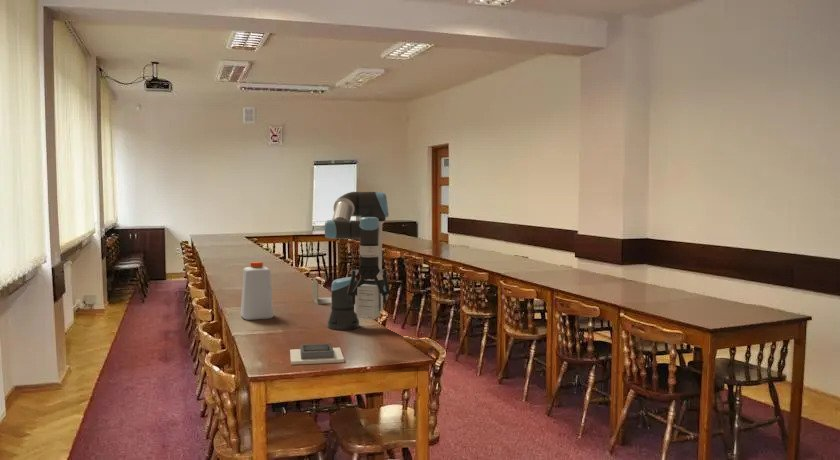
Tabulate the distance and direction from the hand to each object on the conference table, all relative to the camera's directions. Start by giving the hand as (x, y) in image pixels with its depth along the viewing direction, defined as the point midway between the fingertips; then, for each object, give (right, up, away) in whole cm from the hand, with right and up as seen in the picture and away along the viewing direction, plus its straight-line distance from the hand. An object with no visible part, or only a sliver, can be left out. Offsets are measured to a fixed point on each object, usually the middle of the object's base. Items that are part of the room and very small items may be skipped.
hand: (368, 311), depth 259 cm
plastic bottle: (-62, -12, +71) cm, 95 cm away
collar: (-20, -16, -3) cm, 26 cm away
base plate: (-20, -18, -3) cm, 27 cm away
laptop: (-34, -9, +118) cm, 123 cm away
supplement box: (0, -2, 0) cm, 2 cm away
